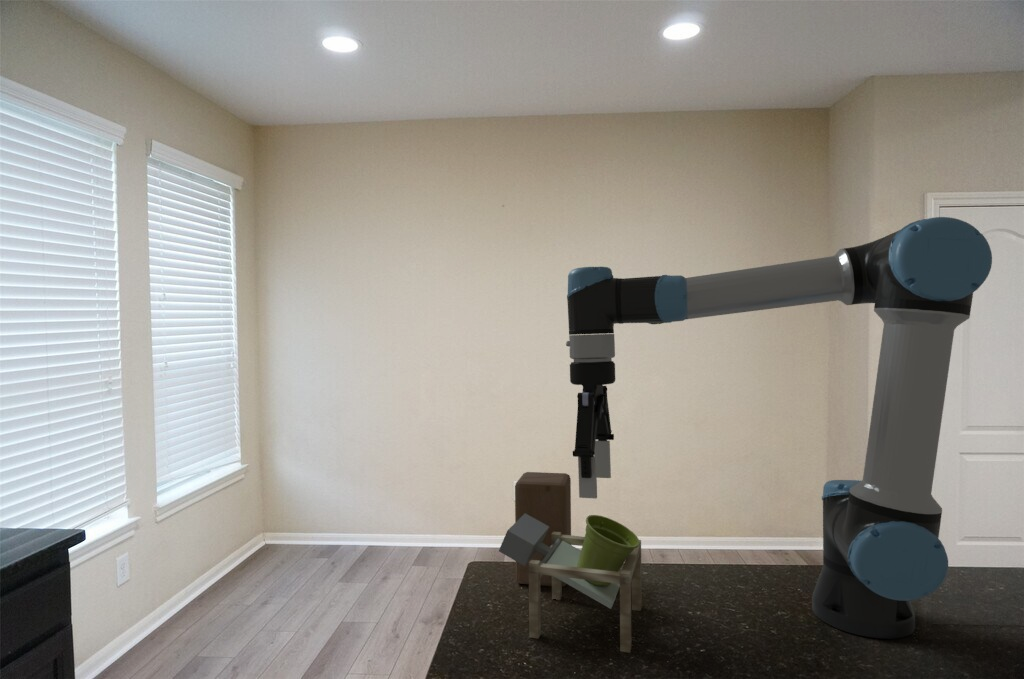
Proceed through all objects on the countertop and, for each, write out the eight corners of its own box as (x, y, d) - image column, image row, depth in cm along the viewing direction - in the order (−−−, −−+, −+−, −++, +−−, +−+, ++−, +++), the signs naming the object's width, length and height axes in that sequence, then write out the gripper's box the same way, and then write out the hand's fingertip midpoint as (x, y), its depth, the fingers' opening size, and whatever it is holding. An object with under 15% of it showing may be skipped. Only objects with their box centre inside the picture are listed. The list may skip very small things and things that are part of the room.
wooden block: (566, 589, 116) (565, 484, 115) (514, 585, 118) (513, 482, 117) (571, 569, 125) (571, 472, 125) (524, 565, 127) (523, 470, 127)
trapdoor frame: (641, 607, 108) (641, 539, 108) (630, 652, 93) (629, 574, 92) (553, 595, 113) (553, 531, 113) (529, 637, 98) (528, 562, 97)
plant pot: (559, 571, 99) (580, 523, 97) (575, 552, 107) (594, 509, 106) (612, 601, 95) (634, 553, 94) (624, 580, 104) (644, 535, 103)
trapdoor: (618, 586, 107) (627, 566, 107) (606, 617, 95) (617, 595, 95) (518, 530, 113) (526, 511, 112) (496, 553, 101) (505, 532, 100)
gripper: (584, 357, 115) (588, 469, 115) (551, 364, 91) (556, 506, 91) (624, 356, 112) (628, 471, 113) (601, 363, 89) (606, 509, 89)
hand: (596, 487), depth 102 cm, fingers open, 13 cm apart
